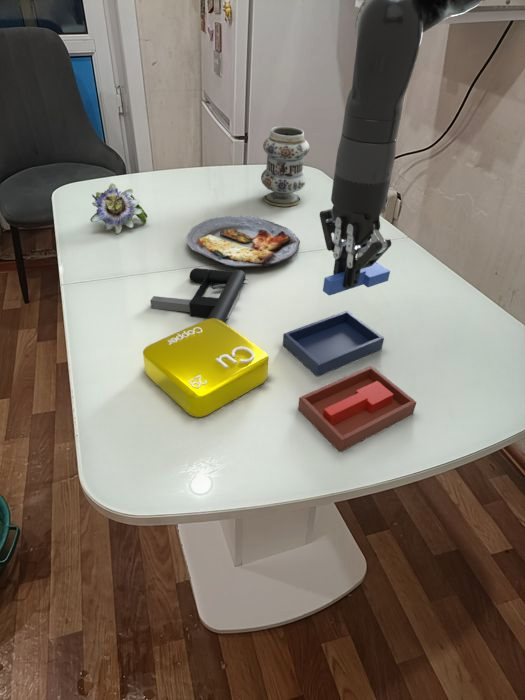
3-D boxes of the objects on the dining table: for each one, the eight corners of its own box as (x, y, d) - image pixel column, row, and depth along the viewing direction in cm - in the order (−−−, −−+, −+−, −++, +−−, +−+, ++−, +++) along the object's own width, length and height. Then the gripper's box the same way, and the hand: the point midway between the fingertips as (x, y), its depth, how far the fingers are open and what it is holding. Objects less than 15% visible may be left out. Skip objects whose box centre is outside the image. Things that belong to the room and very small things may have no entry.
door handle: (136, 314, 89) (225, 323, 86) (176, 261, 105) (252, 268, 102) (139, 329, 91) (226, 339, 88) (178, 275, 107) (252, 282, 104)
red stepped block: (375, 389, 79) (378, 377, 78) (391, 403, 77) (394, 391, 76) (317, 416, 74) (319, 404, 73) (333, 432, 72) (335, 420, 70)
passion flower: (121, 253, 123) (86, 222, 113) (113, 227, 129) (78, 196, 120) (158, 226, 121) (125, 192, 111) (148, 200, 127) (115, 166, 118)
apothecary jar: (305, 209, 134) (312, 138, 123) (259, 207, 134) (262, 136, 123) (303, 192, 144) (309, 125, 133) (260, 190, 144) (263, 122, 133)
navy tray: (345, 321, 94) (347, 310, 93) (381, 349, 88) (384, 337, 87) (282, 344, 88) (283, 333, 87) (317, 376, 82) (318, 365, 80)
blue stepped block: (372, 271, 84) (375, 258, 82) (388, 280, 82) (391, 267, 80) (318, 288, 79) (320, 274, 77) (333, 299, 76) (335, 285, 75)
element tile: (214, 334, 90) (214, 312, 87) (273, 378, 81) (274, 354, 78) (140, 370, 81) (136, 346, 78) (196, 422, 73) (194, 398, 70)
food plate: (317, 246, 118) (319, 232, 116) (256, 286, 103) (256, 271, 101) (233, 216, 129) (233, 203, 127) (167, 248, 114) (166, 234, 112)
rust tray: (368, 376, 82) (371, 365, 81) (413, 413, 76) (416, 402, 74) (297, 408, 76) (299, 397, 74) (339, 452, 70) (342, 440, 68)
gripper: (421, 183, 65) (393, 298, 76) (350, 152, 74) (335, 259, 85) (378, 193, 62) (355, 312, 73) (309, 159, 71) (298, 270, 81)
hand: (344, 283), depth 79 cm, fingers closed on blue stepped block, 1 cm apart
